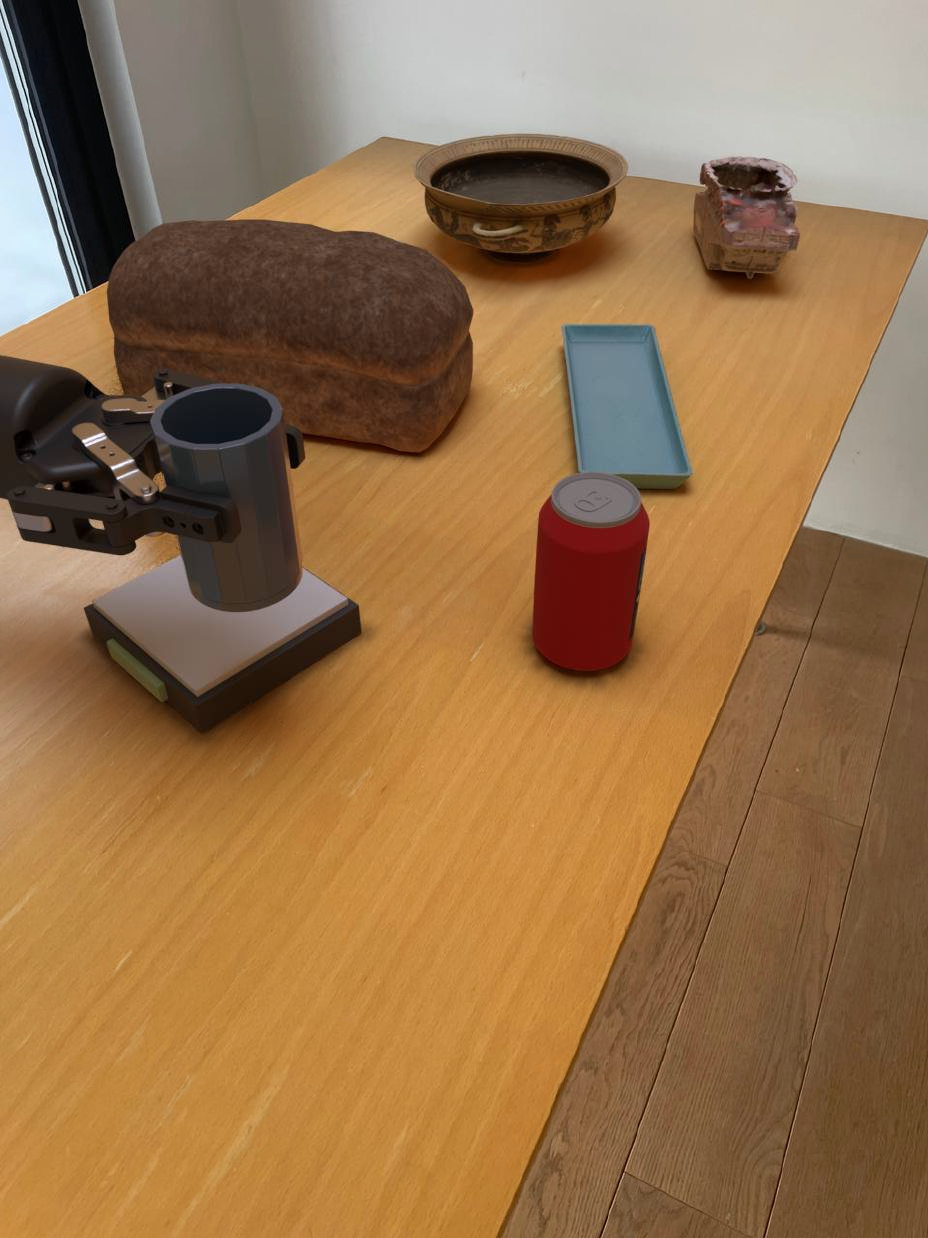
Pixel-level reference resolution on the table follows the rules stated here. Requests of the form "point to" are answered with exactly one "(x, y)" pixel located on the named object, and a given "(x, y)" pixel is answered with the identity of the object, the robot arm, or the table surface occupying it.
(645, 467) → the teal serving tray
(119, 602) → the scale
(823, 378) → the table surface
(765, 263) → the decorative box
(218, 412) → the cup
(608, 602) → the beverage can
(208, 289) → the bread
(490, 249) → the ceramic bowl
